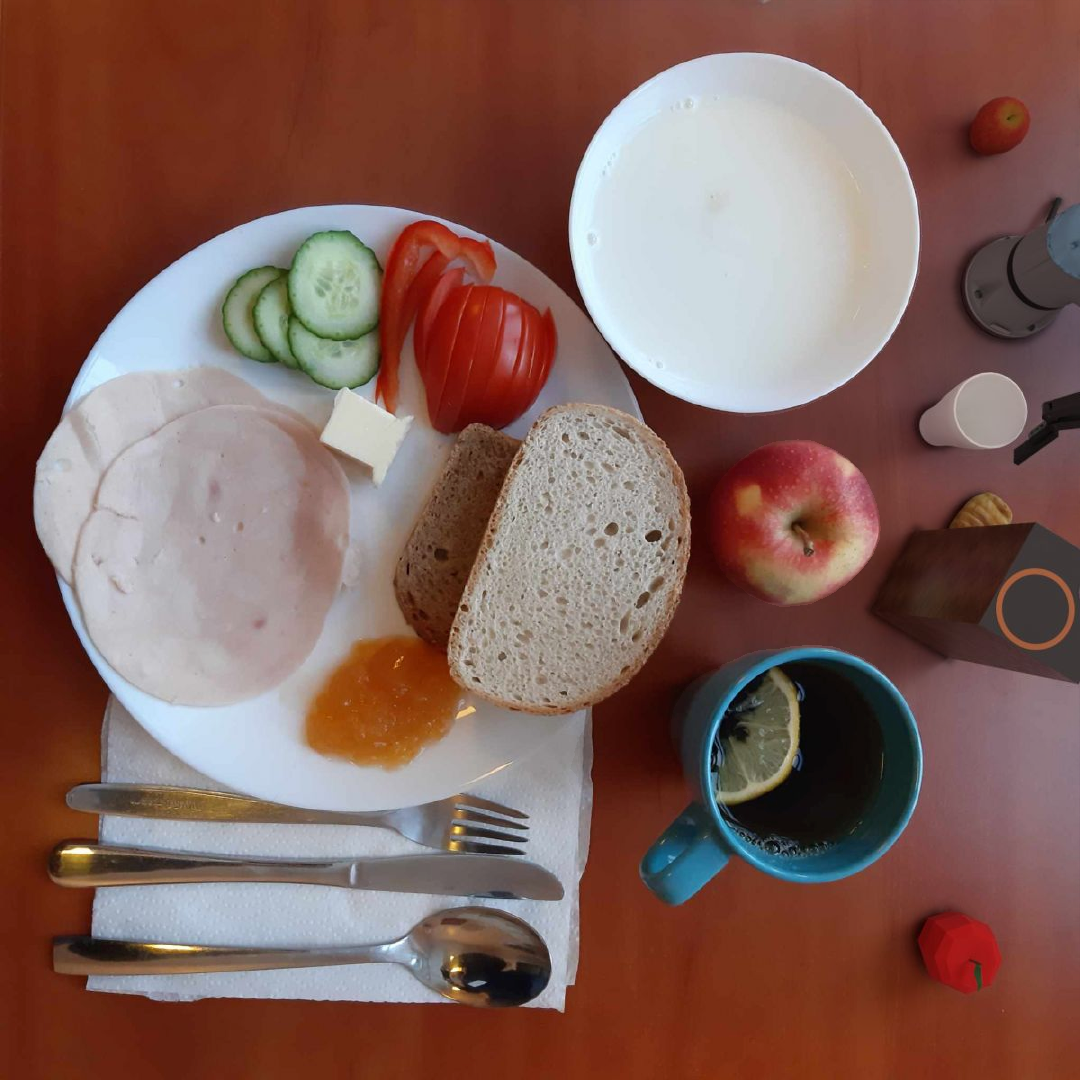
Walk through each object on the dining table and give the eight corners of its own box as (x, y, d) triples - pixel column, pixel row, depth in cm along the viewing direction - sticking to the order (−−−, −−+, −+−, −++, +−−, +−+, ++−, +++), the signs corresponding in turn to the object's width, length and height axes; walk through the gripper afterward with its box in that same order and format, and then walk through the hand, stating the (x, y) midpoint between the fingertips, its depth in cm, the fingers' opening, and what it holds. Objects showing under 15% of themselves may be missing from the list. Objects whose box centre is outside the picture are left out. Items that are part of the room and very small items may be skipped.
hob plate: (1035, 521, 101) (1036, 521, 100) (1133, 582, 101) (1135, 582, 101) (978, 623, 100) (979, 624, 100) (1077, 684, 101) (1079, 684, 100)
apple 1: (910, 899, 127) (947, 928, 117) (979, 903, 128) (1021, 932, 118) (905, 971, 127) (941, 1006, 117) (974, 975, 127) (1016, 1010, 117)
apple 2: (1016, 133, 131) (1050, 106, 124) (991, 175, 131) (1022, 150, 123) (975, 105, 131) (1006, 76, 123) (949, 147, 131) (978, 120, 123)
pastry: (962, 561, 129) (977, 560, 125) (934, 526, 129) (948, 524, 125) (1008, 522, 130) (1024, 520, 126) (981, 487, 130) (995, 485, 126)
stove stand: (917, 529, 129) (1036, 519, 101) (994, 576, 129) (1134, 580, 101) (870, 610, 128) (978, 623, 100) (948, 658, 128) (1077, 684, 101)
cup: (949, 474, 129) (1003, 463, 116) (892, 436, 129) (939, 421, 115) (983, 416, 130) (1041, 398, 116) (926, 378, 129) (978, 357, 116)
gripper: (1124, 343, 94) (979, 454, 111) (1305, 456, 96) (1135, 549, 113) (1120, 306, 99) (981, 418, 116) (1293, 415, 101) (1131, 509, 118)
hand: (1057, 483), depth 114 cm, fingers open, 13 cm apart
